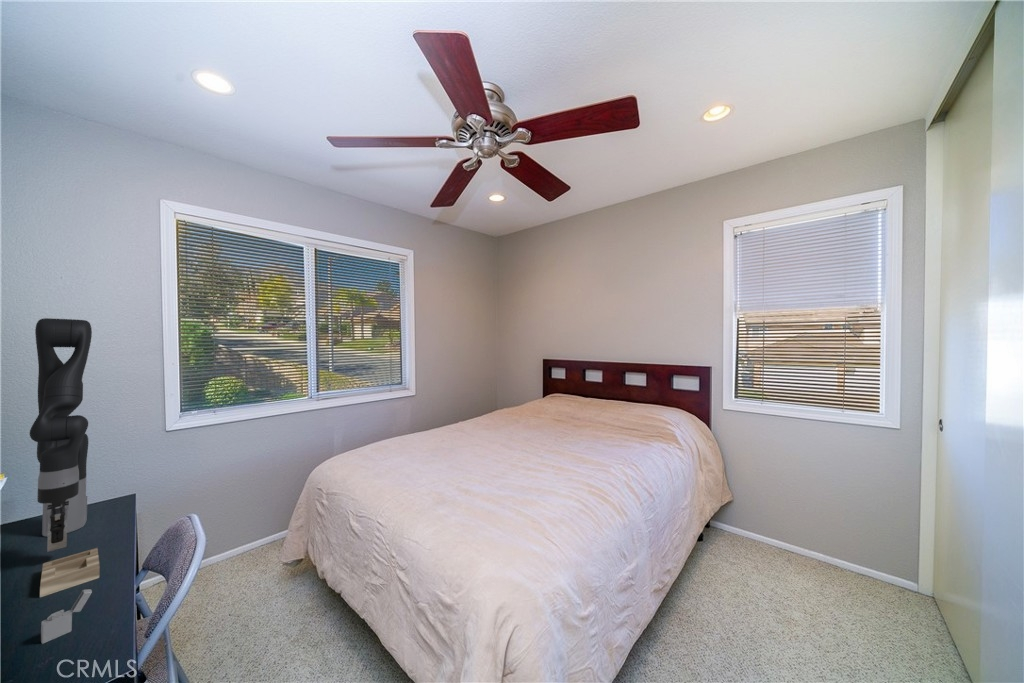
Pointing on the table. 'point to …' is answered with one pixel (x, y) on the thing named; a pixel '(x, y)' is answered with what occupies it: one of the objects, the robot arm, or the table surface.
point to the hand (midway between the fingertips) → (57, 539)
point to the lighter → (62, 619)
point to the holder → (69, 571)
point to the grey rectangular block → (59, 544)
